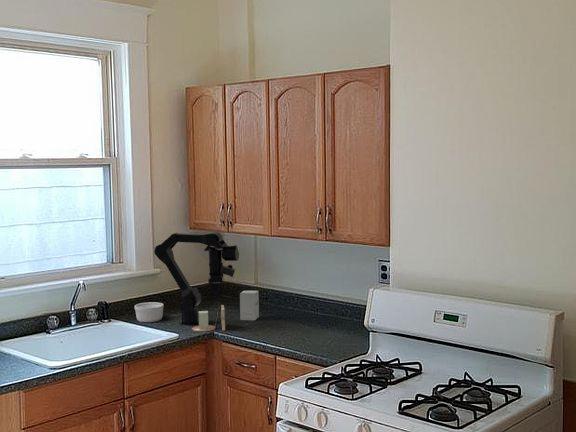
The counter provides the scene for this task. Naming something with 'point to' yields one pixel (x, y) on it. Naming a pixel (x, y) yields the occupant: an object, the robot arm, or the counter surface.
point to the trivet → (203, 329)
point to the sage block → (203, 319)
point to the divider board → (223, 317)
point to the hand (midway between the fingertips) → (216, 295)
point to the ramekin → (149, 311)
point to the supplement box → (249, 305)
